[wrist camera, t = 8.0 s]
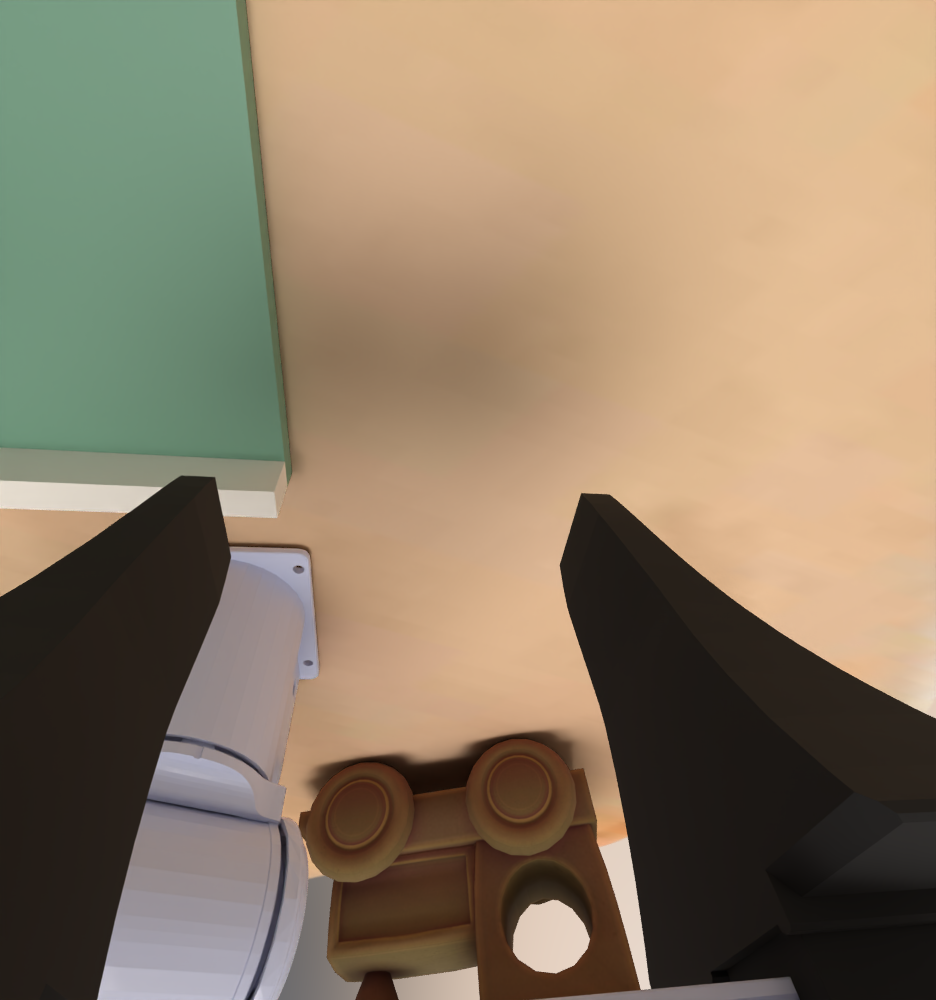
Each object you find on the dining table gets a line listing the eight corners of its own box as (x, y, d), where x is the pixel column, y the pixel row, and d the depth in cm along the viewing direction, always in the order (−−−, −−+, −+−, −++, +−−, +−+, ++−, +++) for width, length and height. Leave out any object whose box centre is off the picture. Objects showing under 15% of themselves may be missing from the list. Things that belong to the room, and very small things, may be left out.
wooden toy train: (587, 717, 36) (691, 1081, 22) (588, 793, 43) (668, 1105, 29) (296, 763, 36) (230, 1148, 23) (344, 831, 43) (314, 1156, 30)
